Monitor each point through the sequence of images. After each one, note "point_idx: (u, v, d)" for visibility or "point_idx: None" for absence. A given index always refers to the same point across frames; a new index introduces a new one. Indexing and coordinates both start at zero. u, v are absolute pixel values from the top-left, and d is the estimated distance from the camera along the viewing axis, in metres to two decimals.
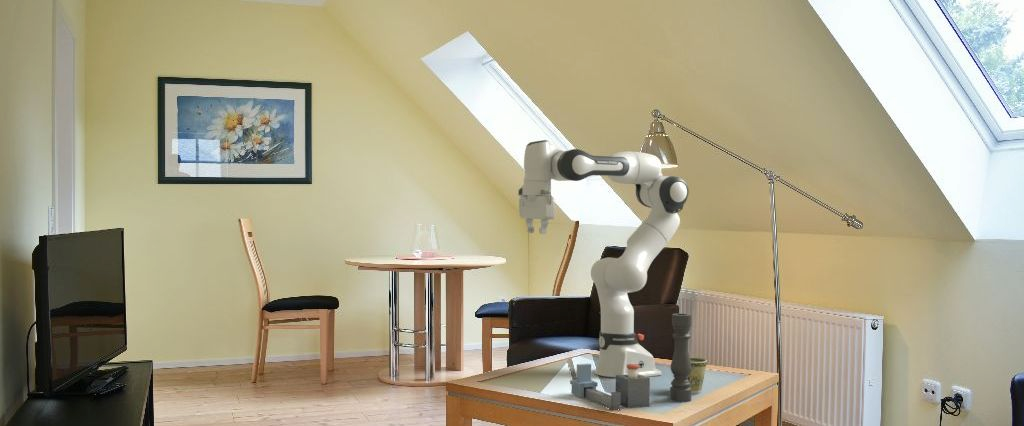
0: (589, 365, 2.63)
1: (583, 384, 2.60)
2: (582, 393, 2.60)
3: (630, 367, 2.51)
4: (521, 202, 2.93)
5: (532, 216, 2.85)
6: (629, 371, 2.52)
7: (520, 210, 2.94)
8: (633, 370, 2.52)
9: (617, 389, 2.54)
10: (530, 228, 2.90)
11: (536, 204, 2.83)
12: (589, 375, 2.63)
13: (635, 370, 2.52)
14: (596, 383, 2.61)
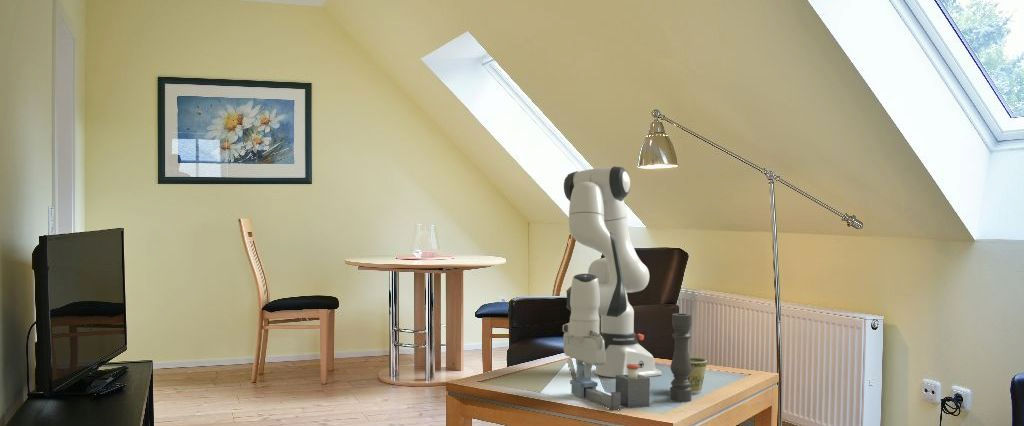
0: None
1: (583, 384, 2.60)
2: (582, 393, 2.60)
3: (630, 367, 2.51)
4: (566, 338, 2.69)
5: (579, 358, 2.62)
6: (629, 371, 2.52)
7: (565, 347, 2.70)
8: (633, 370, 2.52)
9: (617, 389, 2.54)
10: None
11: (584, 346, 2.60)
12: None
13: (635, 370, 2.52)
14: (596, 382, 2.61)
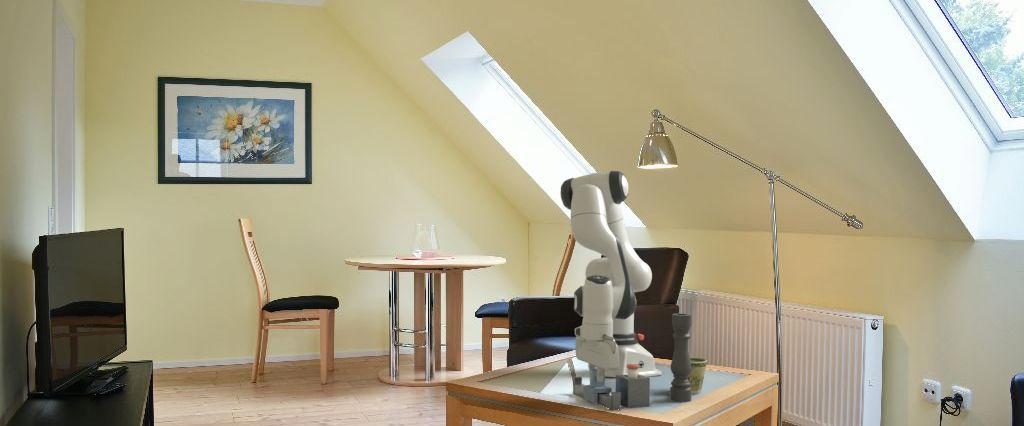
0: None
1: (597, 390, 2.52)
2: (596, 399, 2.52)
3: (630, 367, 2.51)
4: (578, 342, 2.62)
5: (592, 362, 2.54)
6: (629, 371, 2.52)
7: (577, 351, 2.63)
8: (633, 370, 2.52)
9: (617, 389, 2.54)
10: None
11: (597, 350, 2.52)
12: (603, 380, 2.55)
13: (635, 370, 2.52)
14: (610, 388, 2.54)
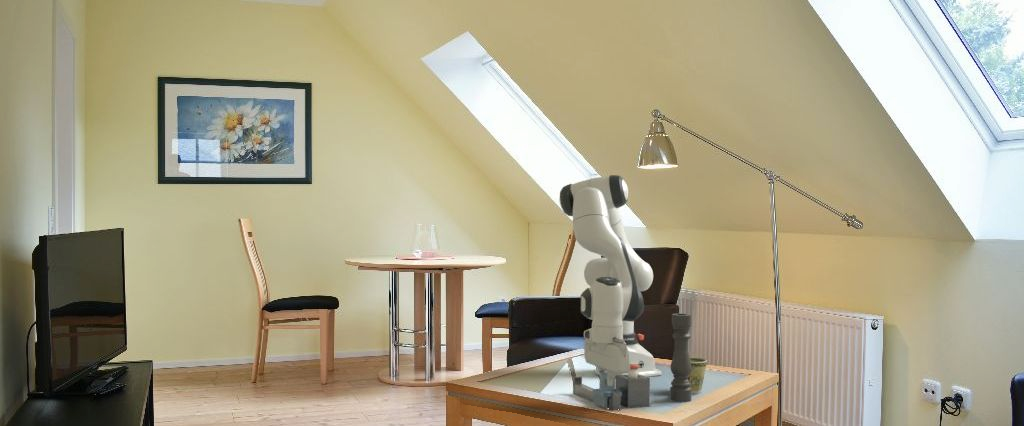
0: None
1: (607, 394, 2.47)
2: (606, 403, 2.47)
3: (630, 367, 2.51)
4: (587, 345, 2.56)
5: (602, 365, 2.49)
6: (629, 371, 2.52)
7: (586, 354, 2.57)
8: (633, 370, 2.52)
9: (617, 389, 2.54)
10: None
11: (607, 353, 2.47)
12: (613, 384, 2.50)
13: (635, 370, 2.52)
14: None
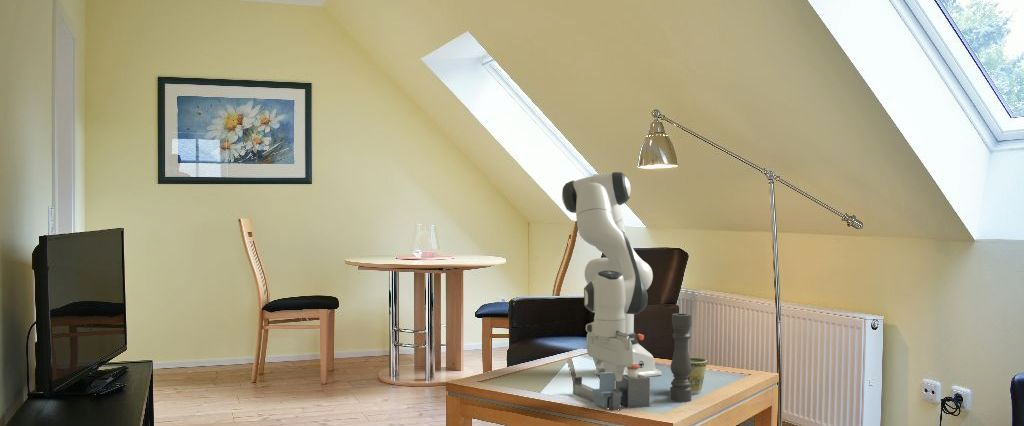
0: (613, 373, 2.50)
1: (607, 394, 2.47)
2: (606, 403, 2.47)
3: (630, 367, 2.51)
4: (589, 339, 2.57)
5: (605, 359, 2.49)
6: (629, 371, 2.52)
7: (588, 347, 2.58)
8: (633, 370, 2.52)
9: (617, 389, 2.54)
10: (601, 370, 2.54)
11: (610, 347, 2.47)
12: (613, 384, 2.50)
13: (635, 370, 2.52)
14: None
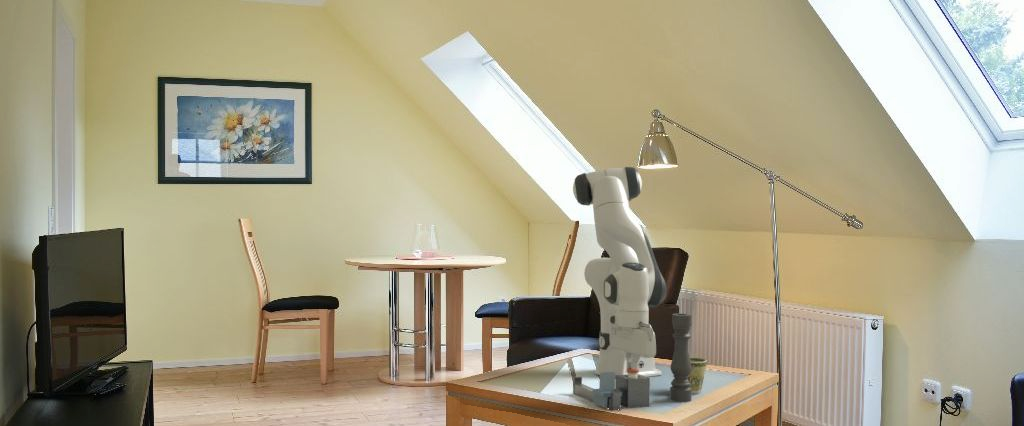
0: (613, 373, 2.50)
1: (607, 394, 2.47)
2: (606, 403, 2.47)
3: (630, 371, 2.51)
4: (612, 330, 2.59)
5: (627, 350, 2.52)
6: (629, 375, 2.52)
7: (611, 339, 2.60)
8: (633, 374, 2.52)
9: (617, 389, 2.54)
10: None
11: (633, 338, 2.49)
12: (613, 384, 2.50)
13: (635, 374, 2.52)
14: None
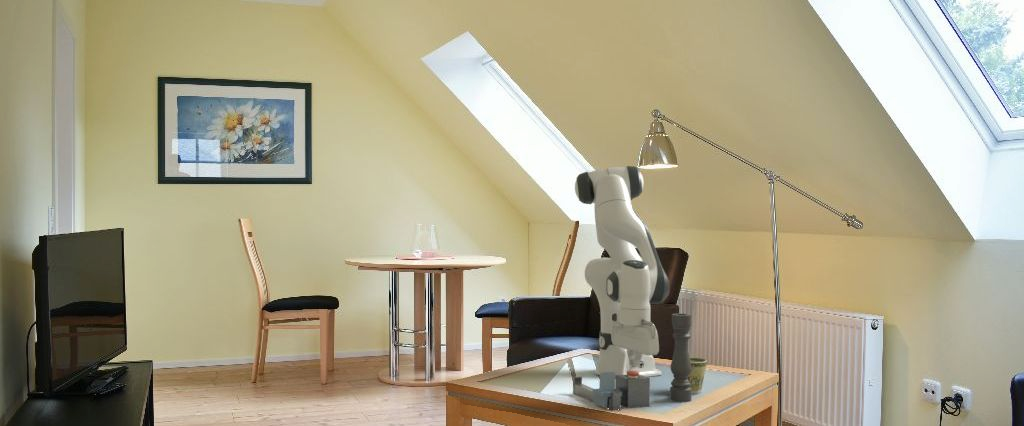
0: (613, 373, 2.50)
1: (607, 394, 2.47)
2: (606, 403, 2.47)
3: (630, 374, 2.51)
4: (614, 328, 2.59)
5: (630, 348, 2.52)
6: None
7: (613, 336, 2.60)
8: (633, 377, 2.52)
9: (617, 389, 2.54)
10: None
11: (635, 335, 2.50)
12: (613, 384, 2.50)
13: (635, 377, 2.52)
14: None
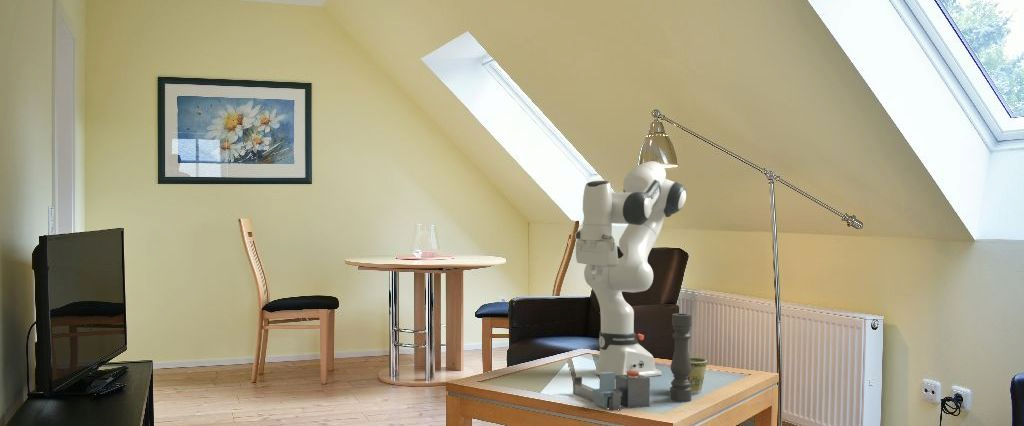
0: (613, 373, 2.50)
1: (607, 394, 2.47)
2: (606, 403, 2.47)
3: (630, 374, 2.51)
4: (578, 246, 2.73)
5: (592, 262, 2.66)
6: None
7: (577, 254, 2.74)
8: (633, 377, 2.52)
9: (617, 389, 2.54)
10: None
11: (597, 250, 2.64)
12: (613, 384, 2.50)
13: (635, 377, 2.52)
14: None
